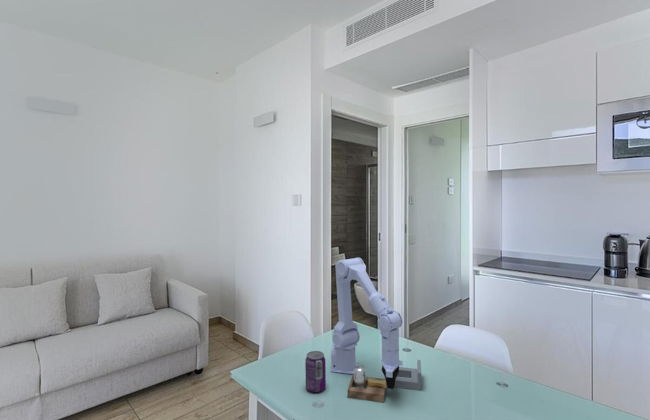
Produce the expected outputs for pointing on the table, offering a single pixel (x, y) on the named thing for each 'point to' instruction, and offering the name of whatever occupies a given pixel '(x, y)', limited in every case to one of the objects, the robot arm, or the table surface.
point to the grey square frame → (411, 373)
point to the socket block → (366, 391)
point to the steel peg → (360, 376)
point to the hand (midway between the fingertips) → (390, 387)
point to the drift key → (377, 383)
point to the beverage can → (315, 371)
